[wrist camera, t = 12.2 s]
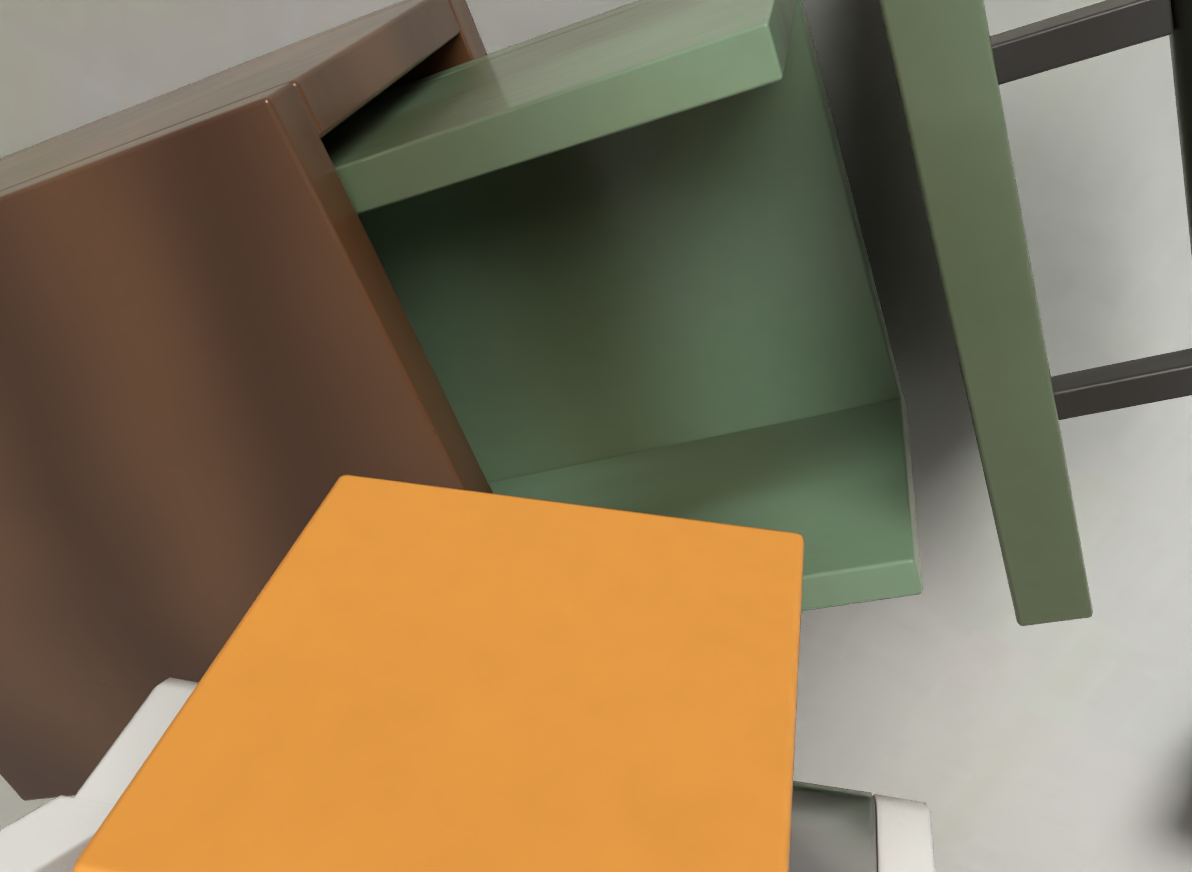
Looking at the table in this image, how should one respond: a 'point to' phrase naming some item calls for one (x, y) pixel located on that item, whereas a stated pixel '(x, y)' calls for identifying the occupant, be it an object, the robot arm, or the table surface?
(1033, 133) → the table surface
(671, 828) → the block
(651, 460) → the drawer
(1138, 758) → the table surface
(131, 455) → the cabinet
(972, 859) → the table surface
